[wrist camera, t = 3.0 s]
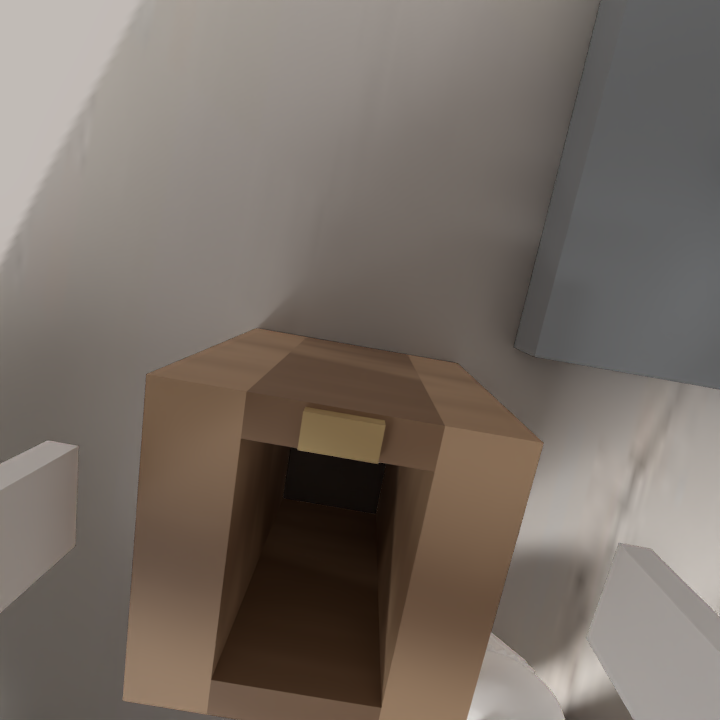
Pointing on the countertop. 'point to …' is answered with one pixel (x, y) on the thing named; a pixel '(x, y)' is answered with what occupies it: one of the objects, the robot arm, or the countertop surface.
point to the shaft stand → (637, 202)
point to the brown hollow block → (319, 534)
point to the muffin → (511, 688)
